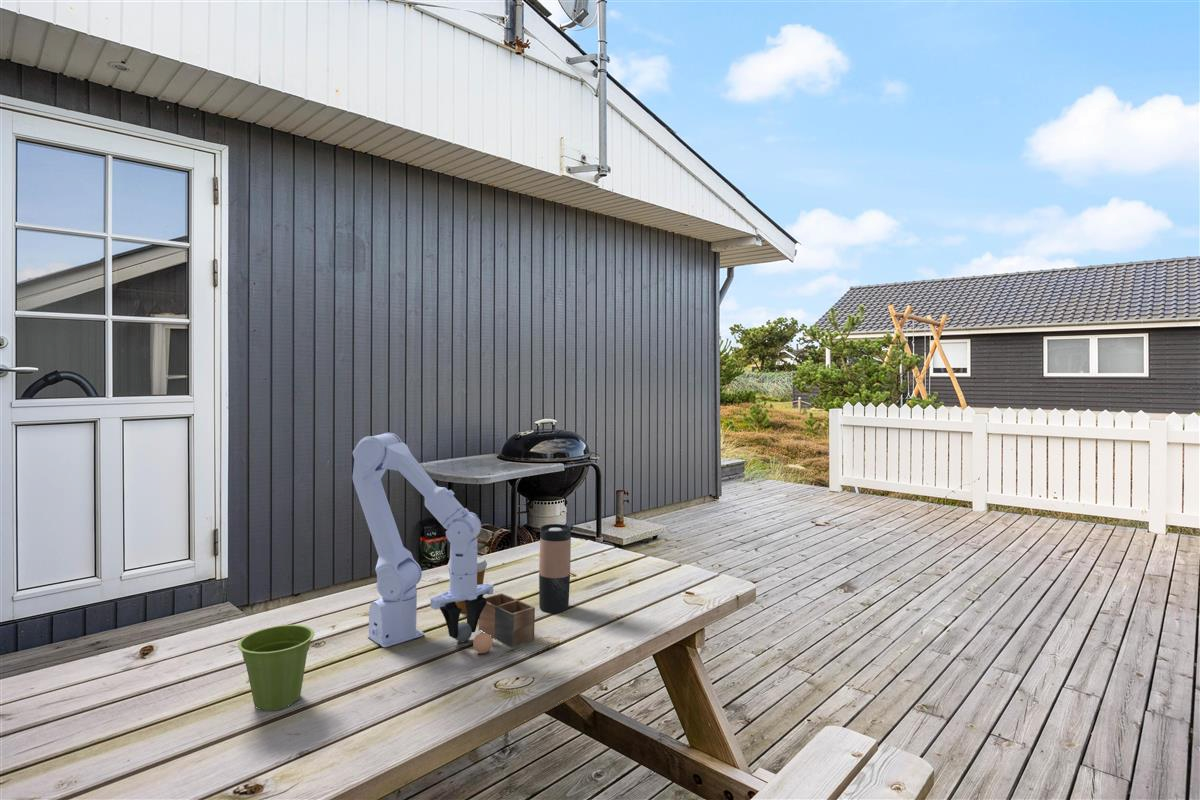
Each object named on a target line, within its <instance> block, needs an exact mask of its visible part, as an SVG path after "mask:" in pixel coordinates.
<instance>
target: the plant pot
mask: <svg viewBox="0 0 1200 800" xmlns="http://www.w3.org/2000/svg"><path fill="white" fill-rule="evenodd" d="M314 636H315V631H314V630H313V629H312V628H311V627H309V626H306V625H303V624H302V625H301V624H282V625H273V626H270V627H266V628H261V629H258V630H255V631H253V632H250V633H249V634H247V635H245V636H243V637H242V638H241V639H240V640H239V641H238V642H237V648H238V650H240V651H241V654H242V659H243V662H245V666H246V671H247V675H248V681H249V686H250V690H251V691H250V692H251V695H252V696H251V697H252V700H253V705H255V706H254V707H255V708H256V707H257V708H260V709H261V710H263V711H265V710H274V711H277V709H278V710H282V709H281V708H283V709H285V708H284V707H286V706H288V705H290V704H291V703H292V704H294V702H295V703H296V702H297V701H296V700H298V699H300V698H301V695H302V694H301V693H302V688H303V682H304V674H305V668H306V663H307V656H308V652H309V651H310V645H311V641H312V639H313V638H314ZM299 697H300V698H299ZM298 701H299V700H298ZM292 704H291V705H292ZM291 705H290V706H291ZM288 707H289V706H288ZM257 708H256V709H257ZM286 708H287V707H286Z"/></svg>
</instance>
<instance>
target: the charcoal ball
mask: <svg viewBox="0 0 1200 800" xmlns="http://www.w3.org/2000/svg"><path fill="white" fill-rule="evenodd" d="M472 634H473V632H472V628H471V626H470V625H469V624H468V623H467V622H464V621H462V622H458V636H457V638H454V639H455V640H456V641H457V642H459V643H464V642H467V641H468V640H470V638H471V637H472Z"/></svg>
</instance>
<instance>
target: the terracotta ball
mask: <svg viewBox="0 0 1200 800" xmlns="http://www.w3.org/2000/svg"><path fill="white" fill-rule="evenodd" d="M472 644H473V648H474V650H475V652H477V653H478V654H486V653H488V652H490V651H491V649H492V647H493V644H494V640H493V637H491V636H490V635H489V634H487V633H483V632H480V633H478V634H477V635H476V636H475V637H474V639H473V642H472Z"/></svg>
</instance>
